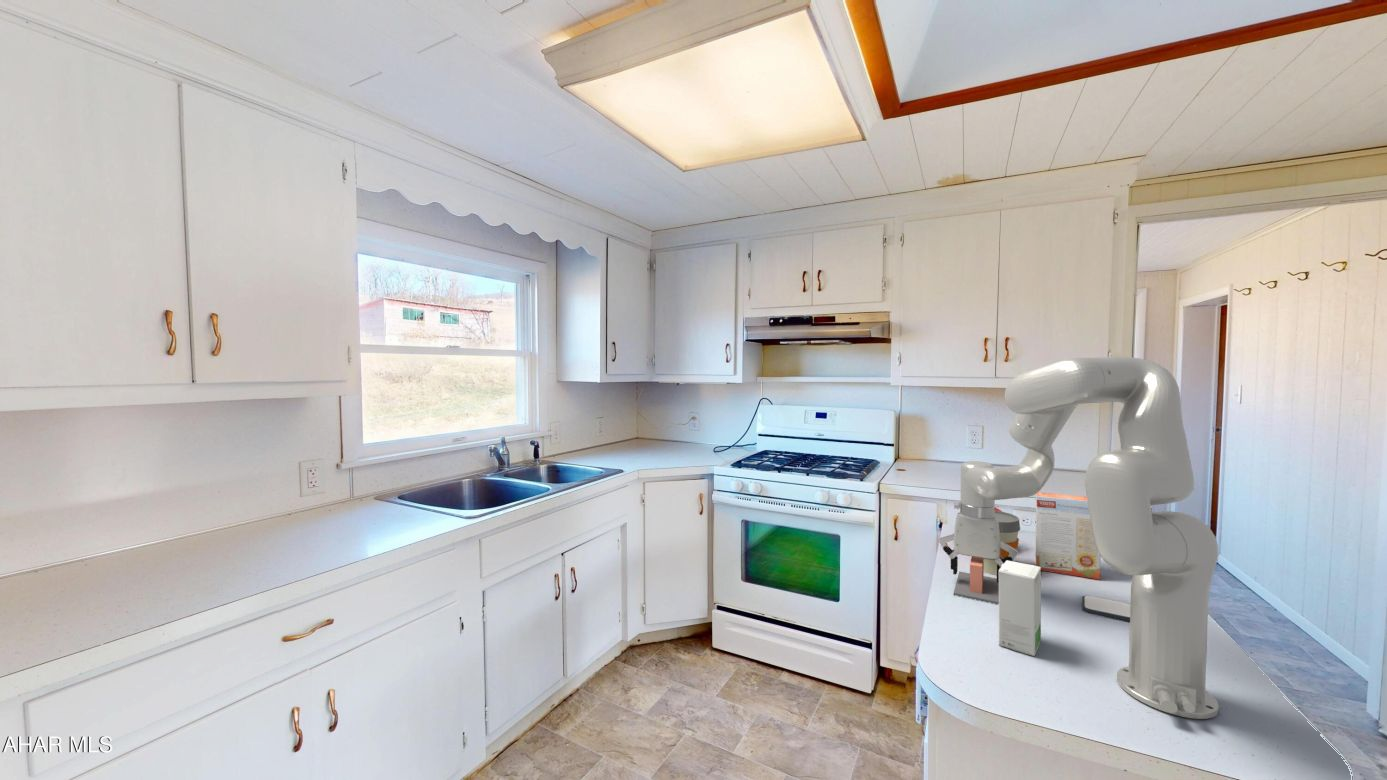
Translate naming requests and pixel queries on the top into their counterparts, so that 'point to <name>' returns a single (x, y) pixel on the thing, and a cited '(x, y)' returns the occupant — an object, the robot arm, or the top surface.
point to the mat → (963, 589)
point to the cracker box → (1065, 536)
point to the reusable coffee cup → (1004, 537)
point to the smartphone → (1106, 608)
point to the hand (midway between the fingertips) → (976, 576)
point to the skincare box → (1020, 607)
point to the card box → (976, 574)
